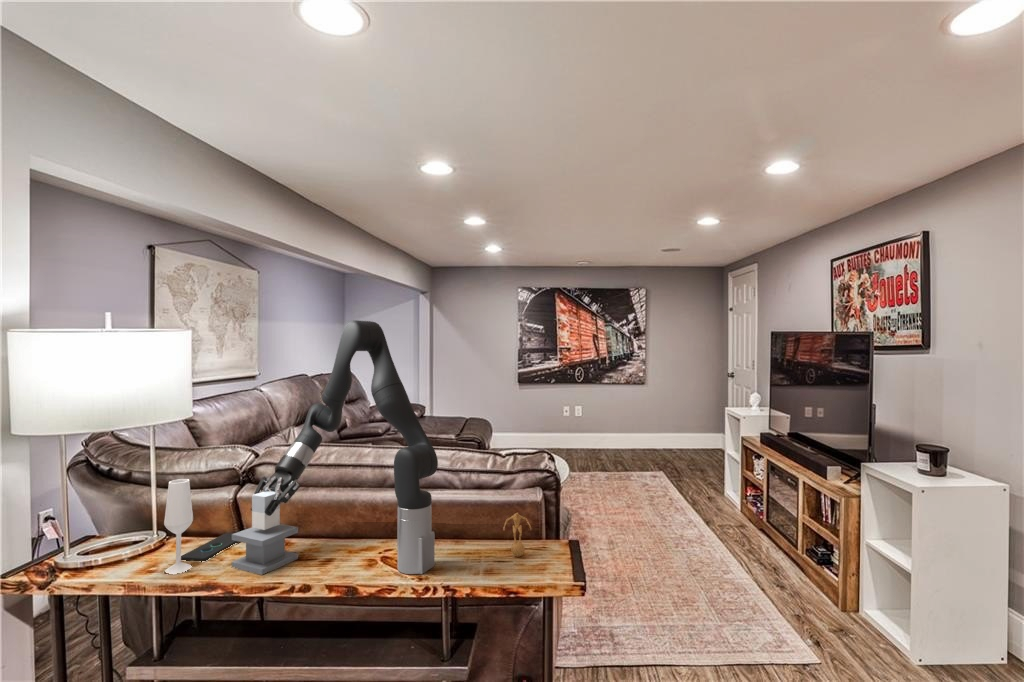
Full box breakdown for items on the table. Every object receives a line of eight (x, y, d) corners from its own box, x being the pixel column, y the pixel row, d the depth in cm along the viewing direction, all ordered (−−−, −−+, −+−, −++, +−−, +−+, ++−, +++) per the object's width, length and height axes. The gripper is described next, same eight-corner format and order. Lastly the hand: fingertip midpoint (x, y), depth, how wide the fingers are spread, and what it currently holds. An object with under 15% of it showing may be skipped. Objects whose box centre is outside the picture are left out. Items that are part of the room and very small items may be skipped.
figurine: (504, 559, 148) (504, 517, 148) (502, 551, 154) (502, 510, 154) (533, 558, 149) (533, 516, 149) (530, 550, 155) (529, 509, 155)
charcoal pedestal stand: (298, 558, 149) (298, 527, 149) (262, 575, 138) (262, 541, 138) (268, 551, 154) (268, 521, 154) (231, 567, 143) (231, 534, 143)
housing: (279, 524, 147) (279, 492, 147) (264, 529, 143) (264, 497, 143) (267, 521, 149) (267, 490, 149) (251, 527, 145) (252, 494, 145)
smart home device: (178, 556, 147) (225, 532, 167) (177, 562, 147) (225, 537, 167) (204, 558, 146) (249, 533, 166) (204, 564, 146) (249, 538, 166)
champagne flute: (157, 574, 138) (158, 484, 139) (174, 564, 145) (175, 478, 145) (182, 574, 138) (183, 484, 139) (198, 564, 145) (198, 478, 145)
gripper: (270, 451, 156) (233, 502, 145) (305, 455, 150) (270, 509, 139) (284, 465, 161) (250, 516, 150) (319, 470, 155) (286, 523, 144)
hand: (260, 512), depth 144 cm, fingers closed on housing, 5 cm apart
